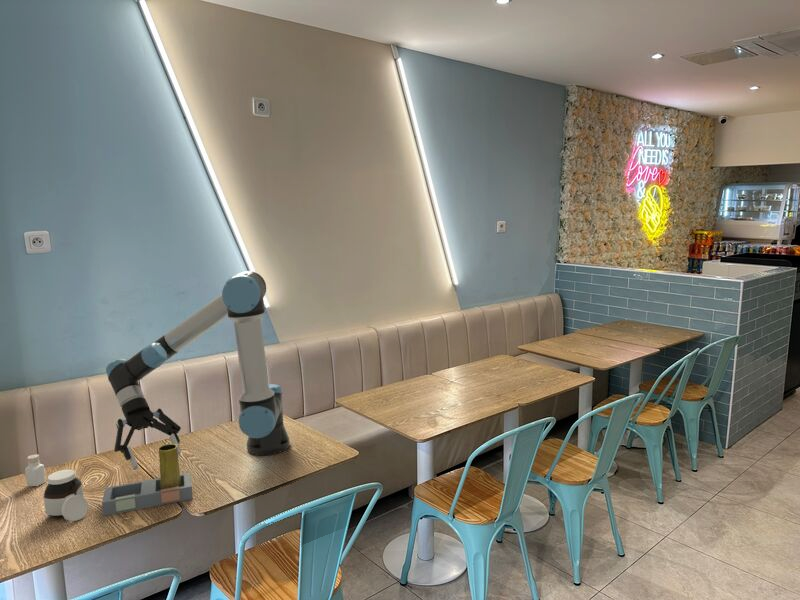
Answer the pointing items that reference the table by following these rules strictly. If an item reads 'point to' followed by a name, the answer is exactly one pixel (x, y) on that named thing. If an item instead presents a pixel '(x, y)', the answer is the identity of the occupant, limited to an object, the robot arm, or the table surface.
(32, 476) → the salt shaker
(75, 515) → the spread jar
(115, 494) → the sorting tray
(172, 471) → the vase
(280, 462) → the table surface
